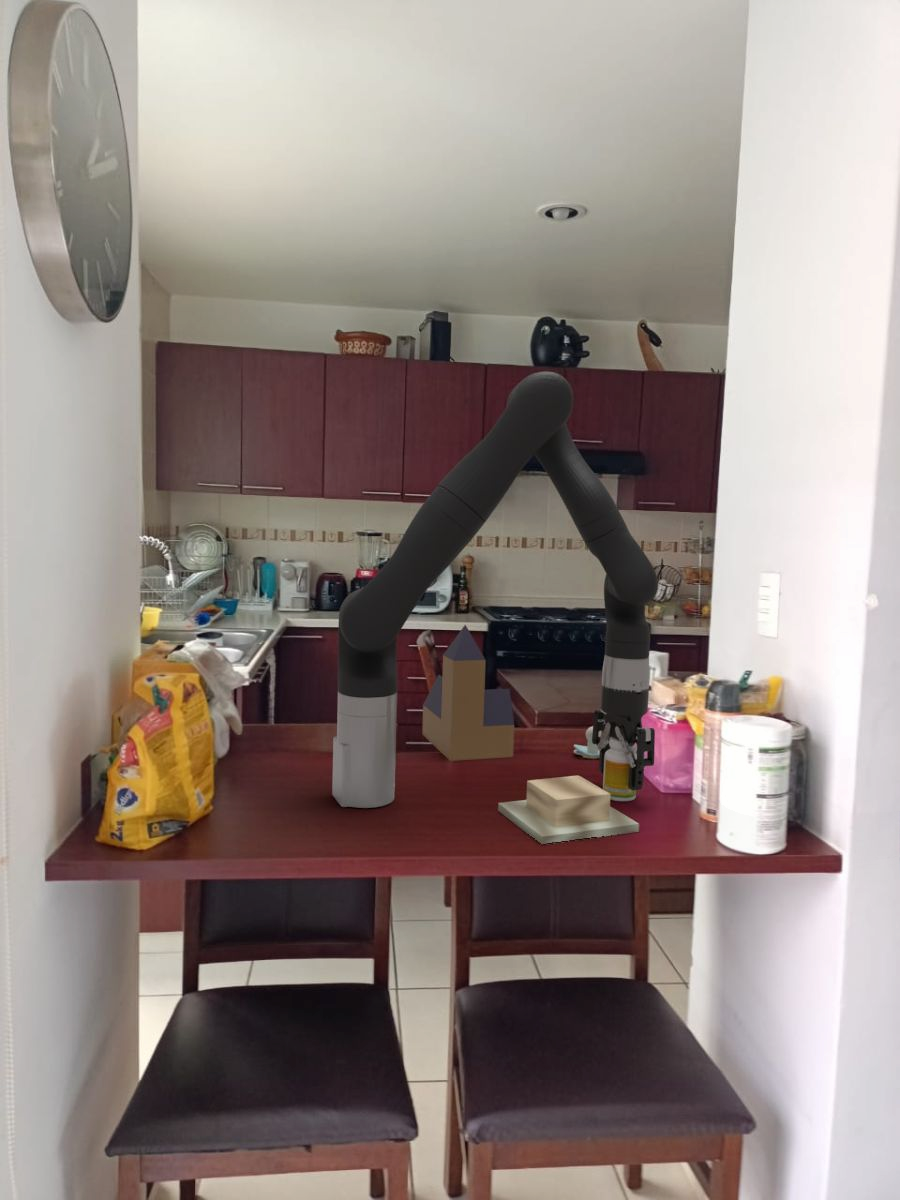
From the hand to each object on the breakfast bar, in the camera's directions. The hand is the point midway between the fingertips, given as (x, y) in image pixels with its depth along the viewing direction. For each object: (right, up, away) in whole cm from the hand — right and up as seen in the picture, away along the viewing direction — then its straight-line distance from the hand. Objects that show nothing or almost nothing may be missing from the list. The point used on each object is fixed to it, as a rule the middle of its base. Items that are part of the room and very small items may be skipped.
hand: (620, 780), depth 135 cm
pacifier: (-1, -1, +23) cm, 23 cm away
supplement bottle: (0, -3, 0) cm, 3 cm away
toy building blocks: (-25, +1, +28) cm, 37 cm away
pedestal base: (-10, -4, -11) cm, 16 cm away
